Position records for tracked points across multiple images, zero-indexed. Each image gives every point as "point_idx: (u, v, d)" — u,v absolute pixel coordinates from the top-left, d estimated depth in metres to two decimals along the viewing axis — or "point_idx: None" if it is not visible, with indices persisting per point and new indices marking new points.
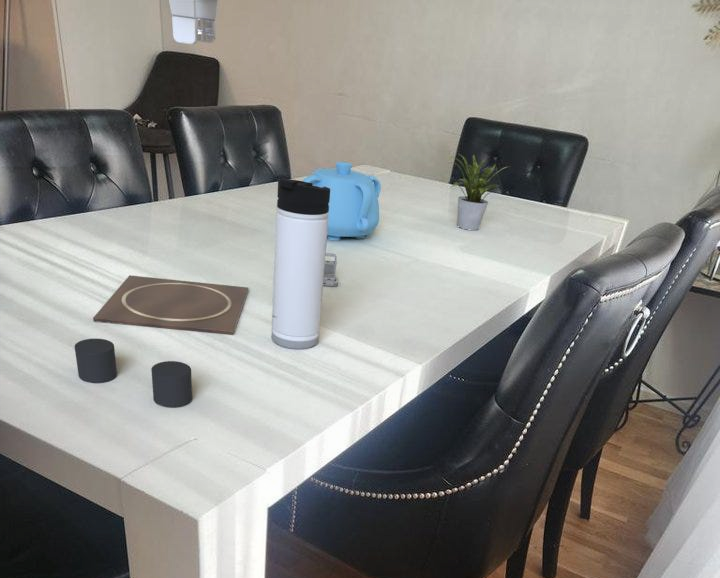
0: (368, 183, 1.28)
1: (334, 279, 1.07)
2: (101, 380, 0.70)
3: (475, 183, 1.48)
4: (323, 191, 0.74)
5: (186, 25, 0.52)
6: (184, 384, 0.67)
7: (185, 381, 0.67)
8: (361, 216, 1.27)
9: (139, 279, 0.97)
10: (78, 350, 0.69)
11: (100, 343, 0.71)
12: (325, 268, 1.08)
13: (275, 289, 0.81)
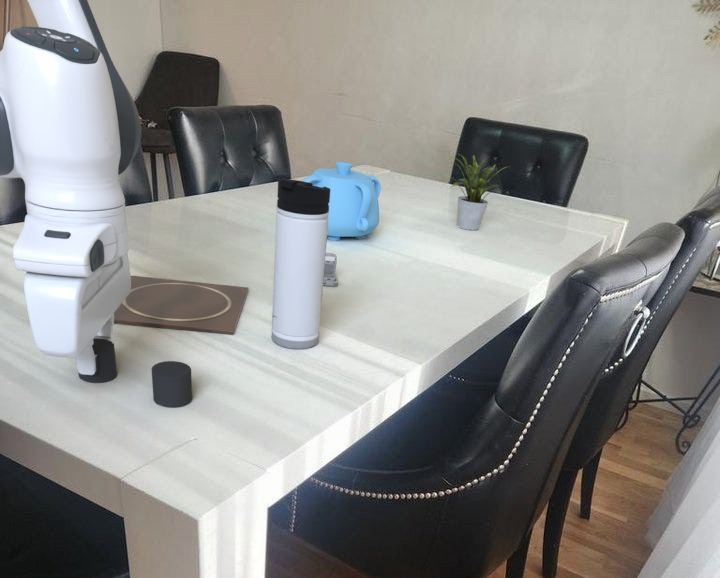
0: (368, 183, 1.28)
1: (334, 279, 1.07)
2: (101, 379, 0.70)
3: (475, 183, 1.48)
4: (323, 191, 0.74)
5: (87, 364, 0.68)
6: (184, 384, 0.67)
7: (185, 381, 0.67)
8: (361, 216, 1.27)
9: (139, 279, 0.97)
10: None
11: (100, 343, 0.71)
12: (325, 268, 1.08)
13: (275, 289, 0.81)
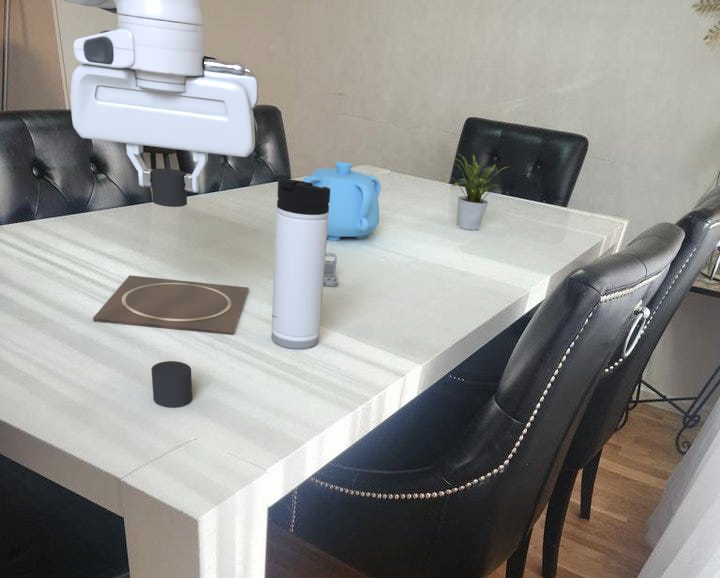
0: (368, 183, 1.28)
1: (334, 279, 1.07)
2: (153, 200, 0.78)
3: (475, 183, 1.48)
4: (323, 191, 0.74)
5: None
6: (184, 384, 0.67)
7: (185, 381, 0.67)
8: (361, 216, 1.27)
9: (139, 279, 0.97)
10: (158, 169, 0.78)
11: (174, 173, 0.77)
12: (325, 268, 1.08)
13: (275, 289, 0.81)
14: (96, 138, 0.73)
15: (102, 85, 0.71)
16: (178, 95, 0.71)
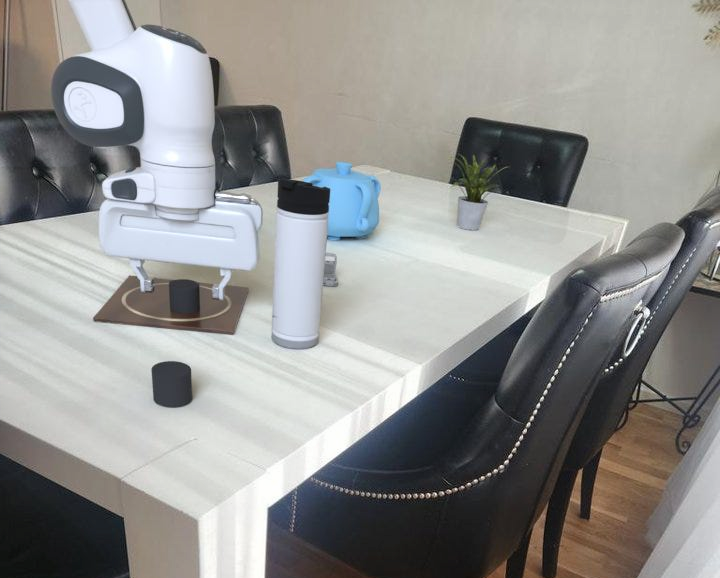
0: (368, 183, 1.28)
1: (334, 279, 1.07)
2: (170, 307, 0.88)
3: (475, 183, 1.48)
4: (323, 191, 0.74)
5: None
6: (184, 384, 0.67)
7: (185, 381, 0.67)
8: (361, 216, 1.27)
9: None
10: (174, 280, 0.88)
11: (189, 285, 0.87)
12: (325, 268, 1.08)
13: (275, 289, 0.81)
14: (120, 256, 0.84)
15: (126, 214, 0.81)
16: (193, 222, 0.81)
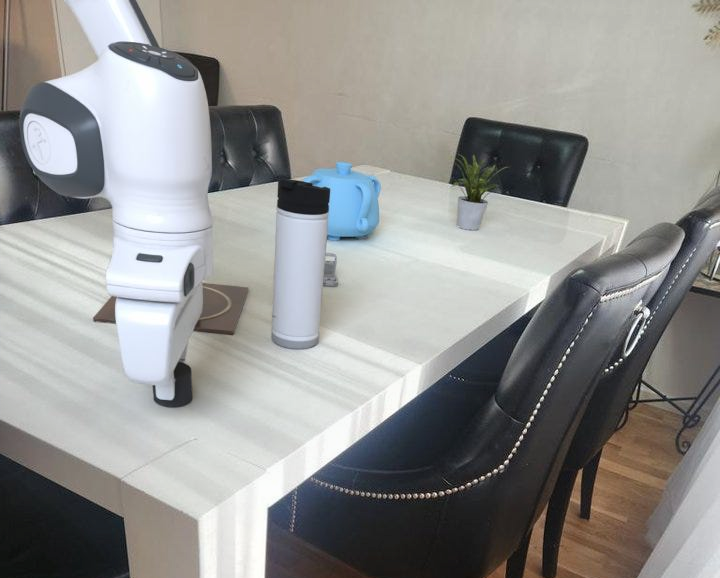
0: (368, 183, 1.28)
1: (334, 279, 1.07)
2: None
3: (475, 183, 1.48)
4: (323, 191, 0.74)
5: (166, 389, 0.65)
6: (184, 384, 0.67)
7: (185, 381, 0.67)
8: (361, 216, 1.27)
9: None
10: None
11: None
12: (325, 268, 1.08)
13: (275, 289, 0.81)
14: (170, 376, 0.60)
15: None
16: None
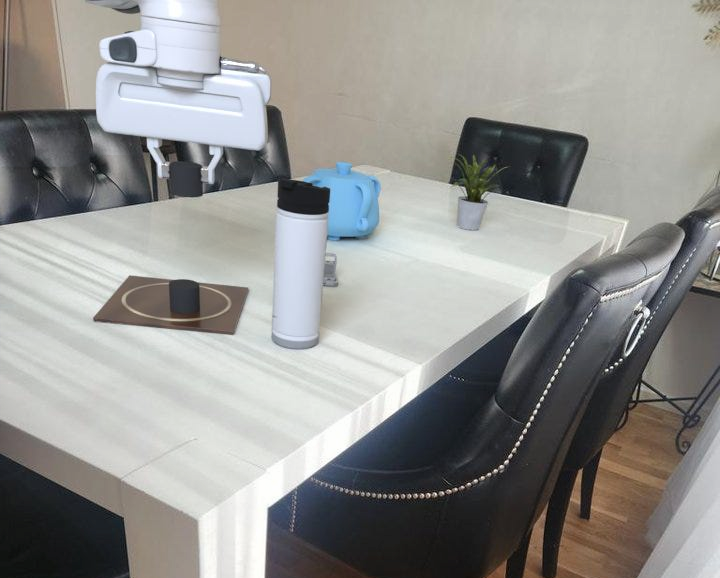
0: (368, 183, 1.28)
1: (334, 279, 1.07)
2: (170, 307, 0.88)
3: (475, 183, 1.48)
4: (323, 191, 0.74)
5: None
6: (173, 174, 0.81)
7: (174, 171, 0.81)
8: (361, 216, 1.27)
9: (139, 279, 0.97)
10: (174, 280, 0.88)
11: (189, 285, 0.87)
12: (325, 268, 1.08)
13: (275, 289, 0.81)
14: (119, 132, 0.78)
15: (125, 82, 0.75)
16: (197, 91, 0.76)
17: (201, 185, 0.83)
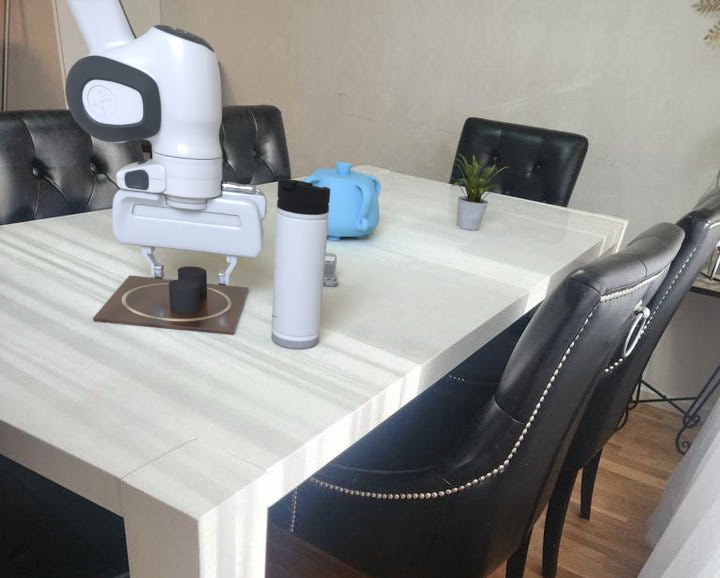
0: (368, 183, 1.28)
1: (334, 279, 1.07)
2: (170, 307, 0.88)
3: (475, 183, 1.48)
4: (323, 191, 0.74)
5: None
6: None
7: (181, 278, 0.91)
8: (361, 216, 1.27)
9: (139, 279, 0.97)
10: (174, 280, 0.88)
11: (189, 285, 0.87)
12: (325, 268, 1.08)
13: (275, 289, 0.81)
14: (132, 244, 0.88)
15: (138, 203, 0.86)
16: (201, 211, 0.86)
17: (205, 288, 0.93)
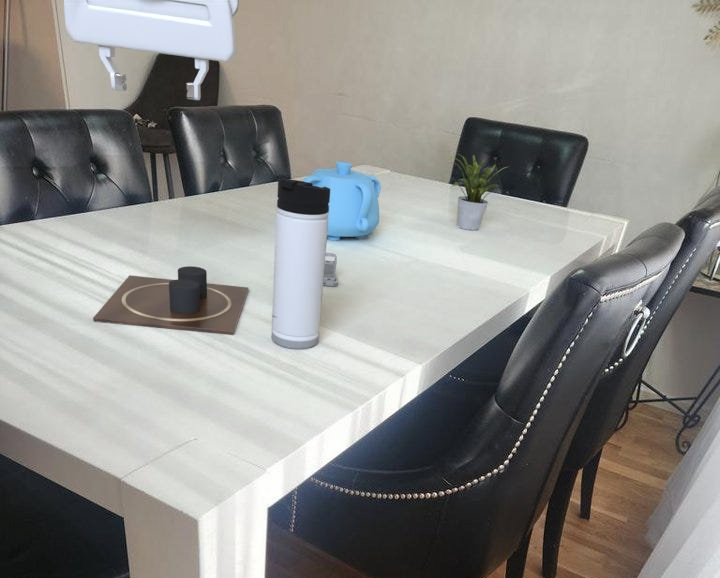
0: (368, 183, 1.28)
1: (334, 279, 1.07)
2: (170, 307, 0.88)
3: (475, 183, 1.48)
4: (323, 191, 0.74)
5: None
6: None
7: (181, 278, 0.91)
8: (361, 216, 1.27)
9: (139, 279, 0.97)
10: (174, 280, 0.88)
11: (189, 285, 0.87)
12: (325, 268, 1.08)
13: (275, 289, 0.81)
14: (88, 42, 0.79)
15: None
16: None
17: (205, 288, 0.93)
